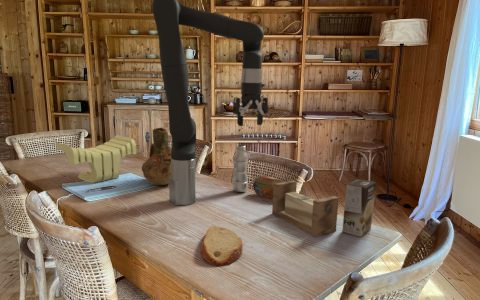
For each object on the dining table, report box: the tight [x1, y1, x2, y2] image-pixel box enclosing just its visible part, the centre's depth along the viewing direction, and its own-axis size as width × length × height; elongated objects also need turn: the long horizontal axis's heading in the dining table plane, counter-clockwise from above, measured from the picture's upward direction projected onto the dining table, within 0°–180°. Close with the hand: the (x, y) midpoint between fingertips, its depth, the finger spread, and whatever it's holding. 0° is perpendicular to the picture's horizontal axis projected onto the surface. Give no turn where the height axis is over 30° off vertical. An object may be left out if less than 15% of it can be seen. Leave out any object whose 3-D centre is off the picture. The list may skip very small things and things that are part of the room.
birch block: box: [285, 191, 314, 226], centre depth 123 cm, size 4×14×7 cm, turn 32°
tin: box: [253, 175, 285, 200], centre depth 148 cm, size 15×3×8 cm, turn 56°
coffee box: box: [342, 178, 377, 238], centre depth 117 cm, size 9×6×16 cm
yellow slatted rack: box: [55, 134, 137, 184], centre depth 168 cm, size 30×16×18 cm, turn 140°
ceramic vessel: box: [141, 127, 172, 186], centre depth 160 cm, size 17×26×25 cm, turn 32°
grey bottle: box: [231, 144, 249, 193], centre depth 153 cm, size 6×7×20 cm
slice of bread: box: [200, 226, 244, 268], centre depth 104 cm, size 18×18×4 cm
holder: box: [271, 180, 340, 237], centre depth 123 cm, size 9×23×11 cm, turn 33°
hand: (250, 125), depth 137 cm, fingers open, 8 cm apart
